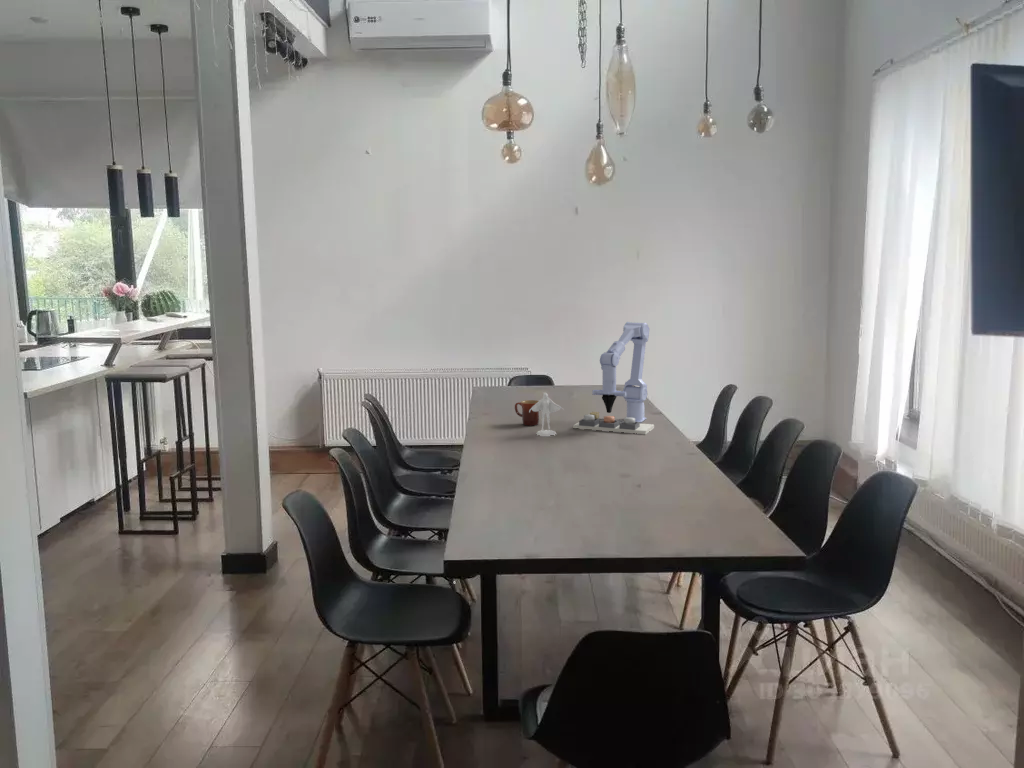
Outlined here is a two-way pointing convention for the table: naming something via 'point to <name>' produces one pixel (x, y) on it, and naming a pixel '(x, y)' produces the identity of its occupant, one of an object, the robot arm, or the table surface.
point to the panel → (614, 426)
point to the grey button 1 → (589, 417)
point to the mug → (527, 417)
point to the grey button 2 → (629, 420)
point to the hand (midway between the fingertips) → (609, 412)
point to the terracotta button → (609, 419)
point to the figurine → (546, 408)
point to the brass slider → (595, 414)
